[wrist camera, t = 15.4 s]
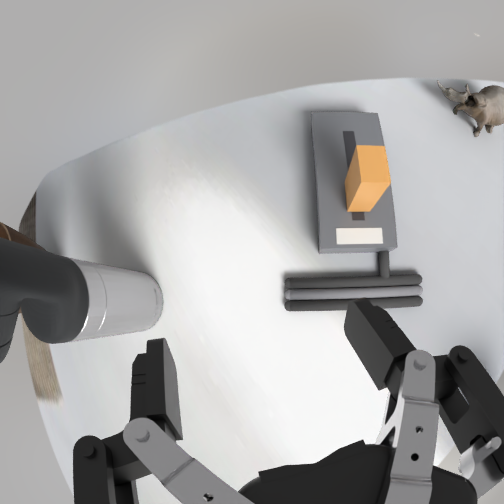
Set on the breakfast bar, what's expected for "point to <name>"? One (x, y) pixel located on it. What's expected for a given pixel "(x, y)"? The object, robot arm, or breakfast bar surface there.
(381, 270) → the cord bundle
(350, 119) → the breaker box
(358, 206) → the handle
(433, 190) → the breakfast bar surface
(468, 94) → the rhinoceros figurine
